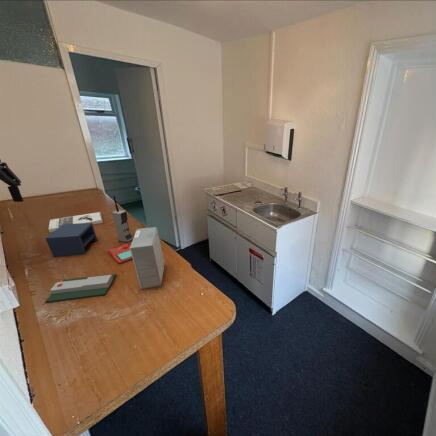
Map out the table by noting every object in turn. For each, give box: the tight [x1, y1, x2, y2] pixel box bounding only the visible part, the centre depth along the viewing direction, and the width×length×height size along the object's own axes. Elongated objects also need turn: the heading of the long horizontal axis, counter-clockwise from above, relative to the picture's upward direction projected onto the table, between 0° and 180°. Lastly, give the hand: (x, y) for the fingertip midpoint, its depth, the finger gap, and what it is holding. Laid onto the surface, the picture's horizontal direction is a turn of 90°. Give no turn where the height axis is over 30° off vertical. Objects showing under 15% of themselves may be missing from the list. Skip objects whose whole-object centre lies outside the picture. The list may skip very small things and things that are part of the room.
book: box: [47, 211, 104, 233], centre depth 136 cm, size 23×14×2 cm, turn 130°
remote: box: [49, 274, 113, 295], centre depth 90 cm, size 18×5×2 cm, turn 107°
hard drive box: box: [130, 226, 166, 290], centre depth 96 cm, size 16×8×20 cm, turn 22°
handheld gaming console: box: [107, 242, 133, 265], centre depth 112 cm, size 9×1×15 cm
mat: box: [44, 273, 118, 304], centre depth 91 cm, size 18×12×1 cm, turn 107°
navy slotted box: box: [45, 223, 98, 258], centre depth 112 cm, size 12×14×10 cm
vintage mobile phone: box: [111, 195, 134, 243], centre depth 119 cm, size 4×5×25 cm
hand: (6, 207), depth 91 cm, fingers open, 13 cm apart
